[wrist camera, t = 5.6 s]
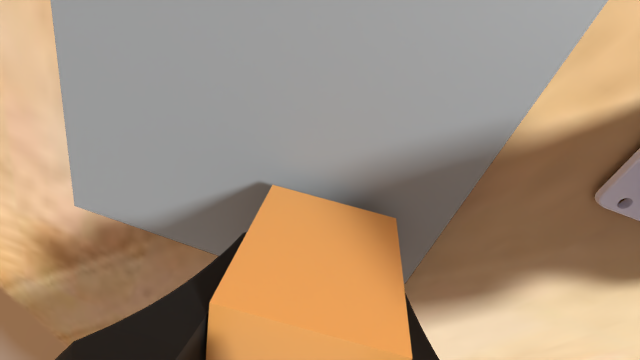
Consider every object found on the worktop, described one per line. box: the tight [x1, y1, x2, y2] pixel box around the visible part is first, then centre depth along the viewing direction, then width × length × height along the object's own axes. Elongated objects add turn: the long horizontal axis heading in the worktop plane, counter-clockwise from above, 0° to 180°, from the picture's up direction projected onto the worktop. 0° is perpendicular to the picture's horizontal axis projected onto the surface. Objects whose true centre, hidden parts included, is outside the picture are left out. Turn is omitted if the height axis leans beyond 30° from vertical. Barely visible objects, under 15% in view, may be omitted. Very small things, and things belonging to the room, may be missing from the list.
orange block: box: [206, 185, 412, 360], centre depth 12 cm, size 5×5×6 cm
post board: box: [51, 0, 608, 284], centre depth 11 cm, size 18×18×6 cm
